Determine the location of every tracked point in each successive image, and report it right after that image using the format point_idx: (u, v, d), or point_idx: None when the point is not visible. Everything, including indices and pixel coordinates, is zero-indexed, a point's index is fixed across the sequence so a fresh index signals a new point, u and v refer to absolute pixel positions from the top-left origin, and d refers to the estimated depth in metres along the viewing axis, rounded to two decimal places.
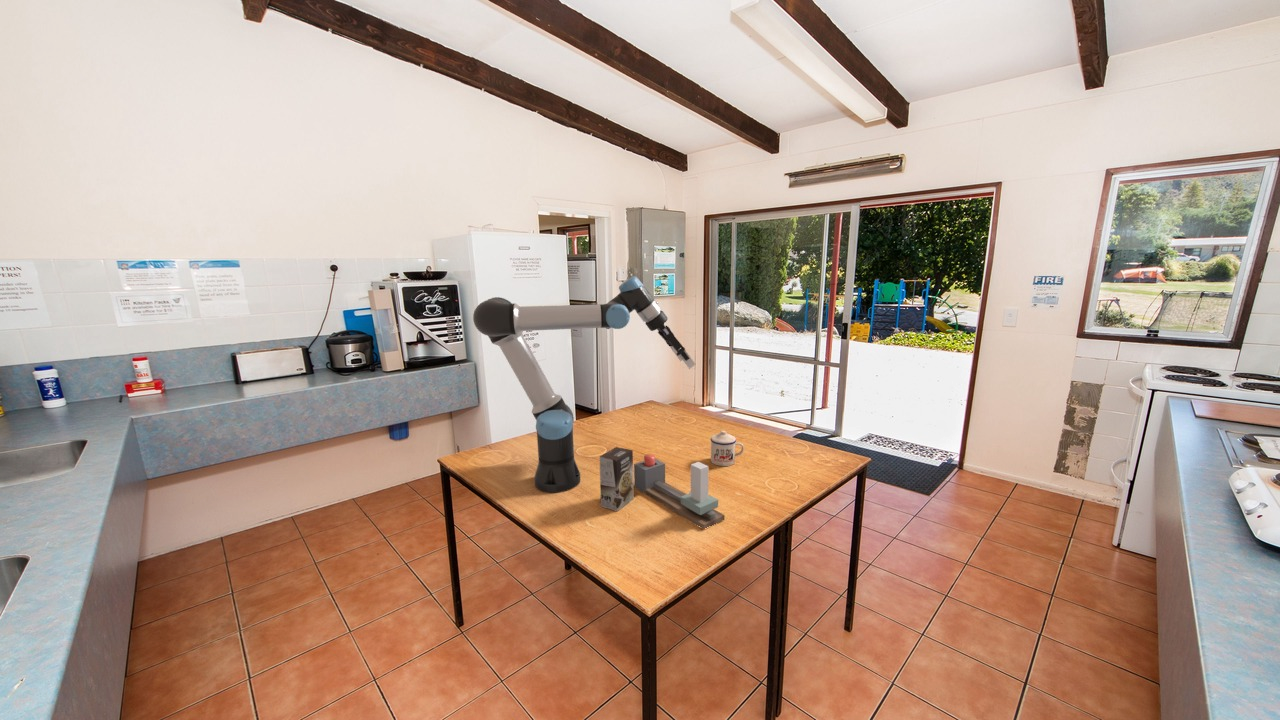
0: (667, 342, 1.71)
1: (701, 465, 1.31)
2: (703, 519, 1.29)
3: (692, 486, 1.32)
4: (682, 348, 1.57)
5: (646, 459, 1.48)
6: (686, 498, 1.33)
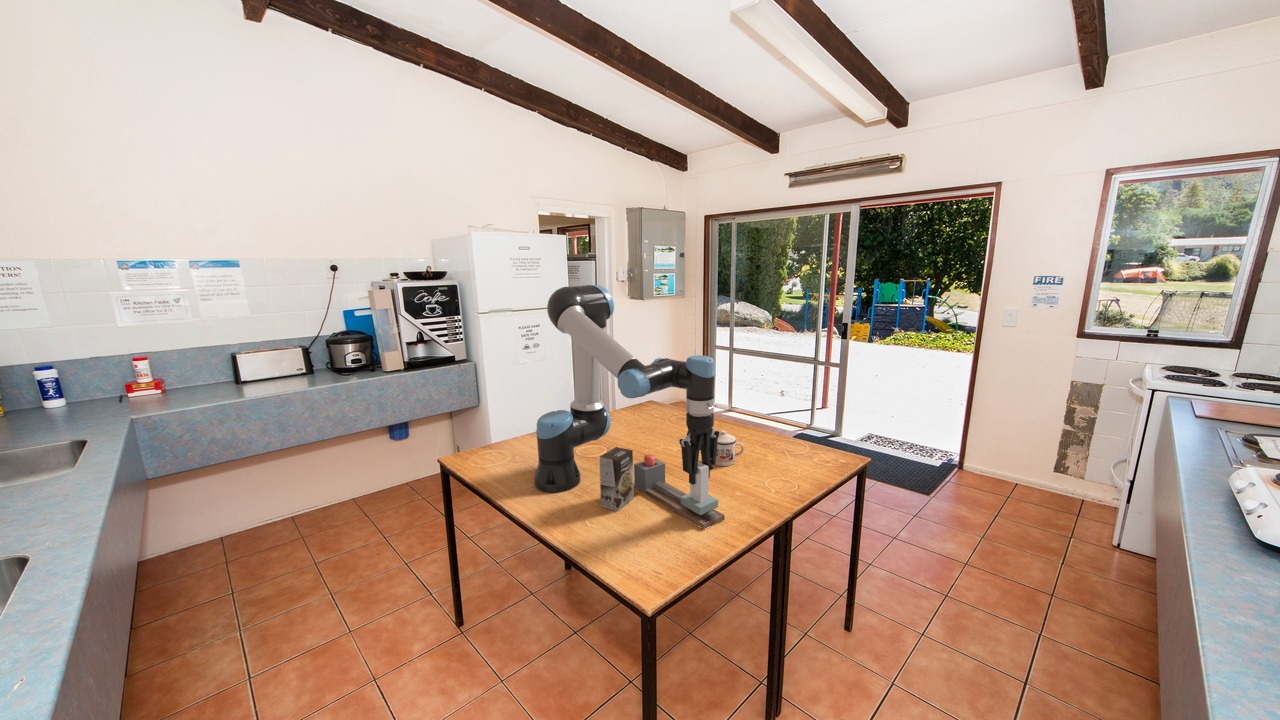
0: (701, 455, 1.32)
1: (701, 465, 1.31)
2: (703, 519, 1.29)
3: None
4: (687, 471, 1.27)
5: (646, 459, 1.48)
6: (686, 498, 1.33)
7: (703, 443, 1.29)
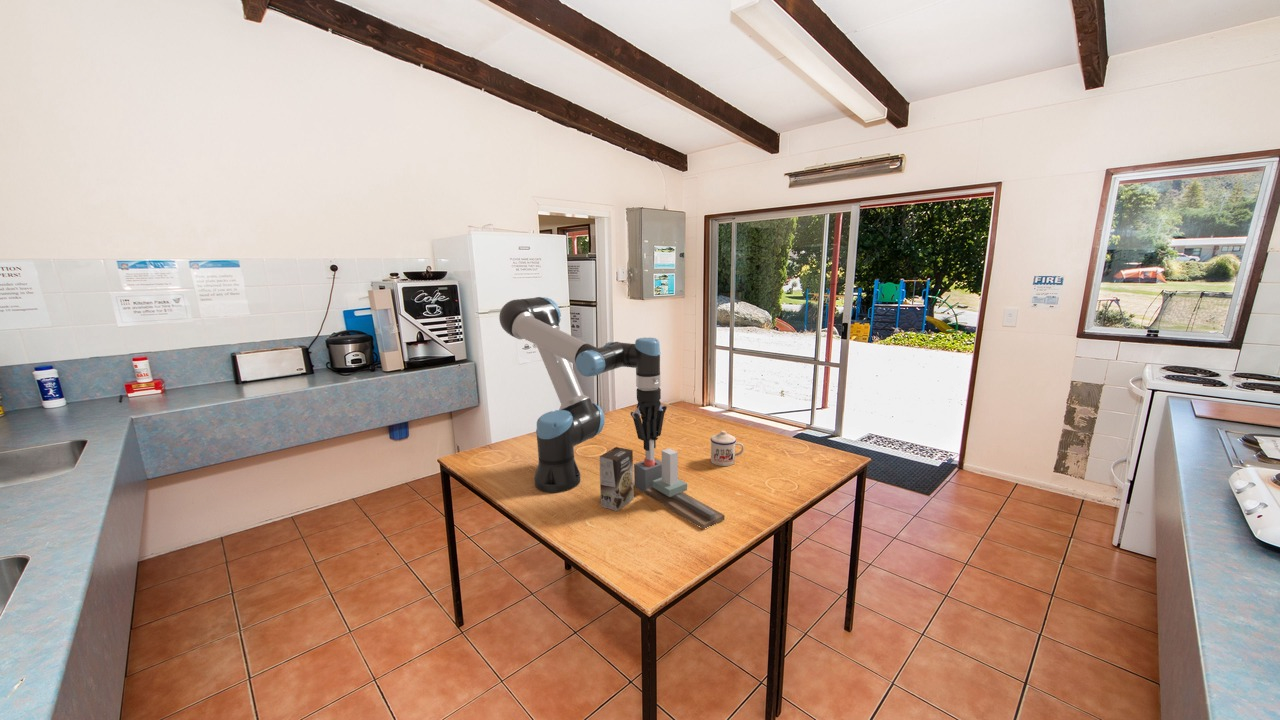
0: None
1: (670, 451, 1.41)
2: (703, 519, 1.29)
3: (663, 471, 1.42)
4: (641, 438, 1.46)
5: (646, 462, 1.49)
6: (657, 482, 1.43)
7: (652, 415, 1.46)
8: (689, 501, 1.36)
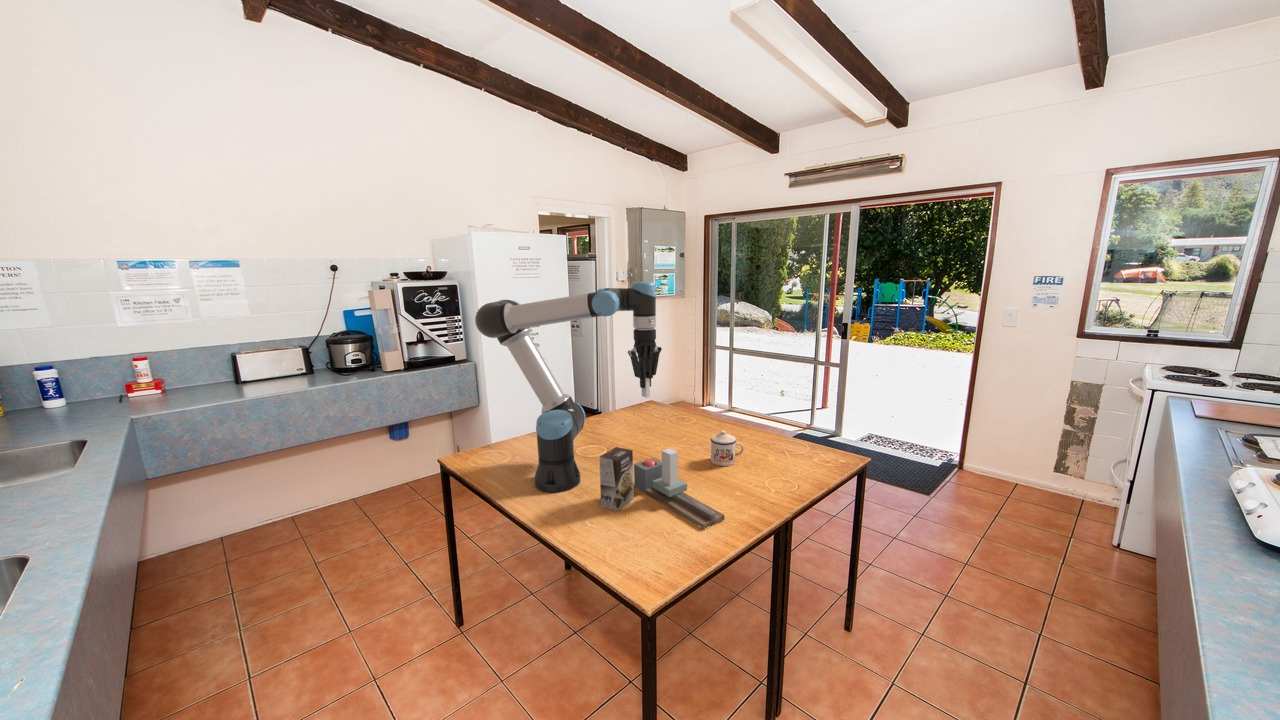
0: None
1: (670, 451, 1.41)
2: (703, 519, 1.29)
3: (663, 471, 1.42)
4: (638, 376, 1.56)
5: (646, 464, 1.49)
6: (657, 482, 1.43)
7: (647, 354, 1.57)
8: (689, 501, 1.36)
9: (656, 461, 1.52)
